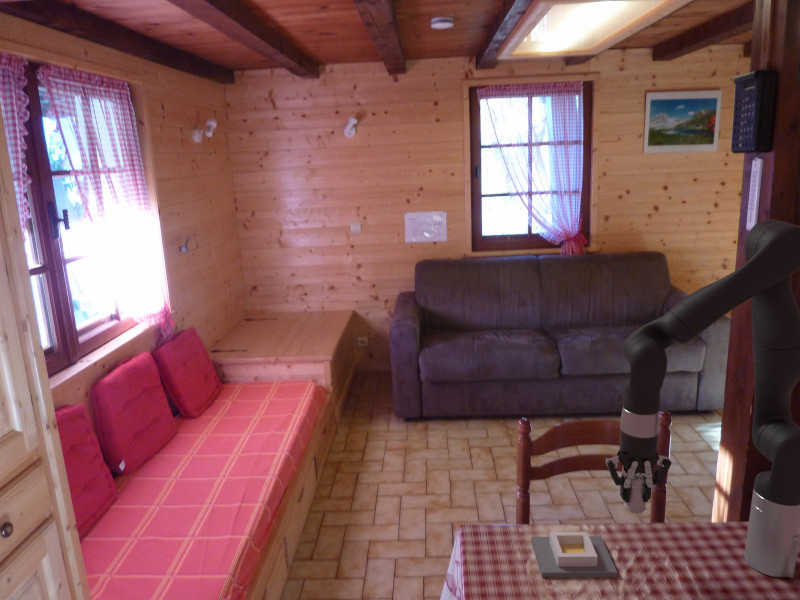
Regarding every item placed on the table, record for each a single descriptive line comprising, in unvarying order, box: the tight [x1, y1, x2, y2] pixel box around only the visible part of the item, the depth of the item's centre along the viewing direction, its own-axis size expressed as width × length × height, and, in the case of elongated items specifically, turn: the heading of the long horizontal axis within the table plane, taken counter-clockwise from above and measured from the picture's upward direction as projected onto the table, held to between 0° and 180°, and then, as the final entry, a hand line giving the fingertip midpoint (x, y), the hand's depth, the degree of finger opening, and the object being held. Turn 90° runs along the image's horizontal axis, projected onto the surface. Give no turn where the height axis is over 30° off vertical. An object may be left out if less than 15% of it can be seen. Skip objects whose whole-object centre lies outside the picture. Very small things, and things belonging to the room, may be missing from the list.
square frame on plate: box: [530, 531, 618, 578], centre depth 132 cm, size 16×12×4 cm
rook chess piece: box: [623, 473, 647, 514], centre depth 128 cm, size 4×4×8 cm
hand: (635, 499), depth 128 cm, fingers closed on rook chess piece, 3 cm apart
